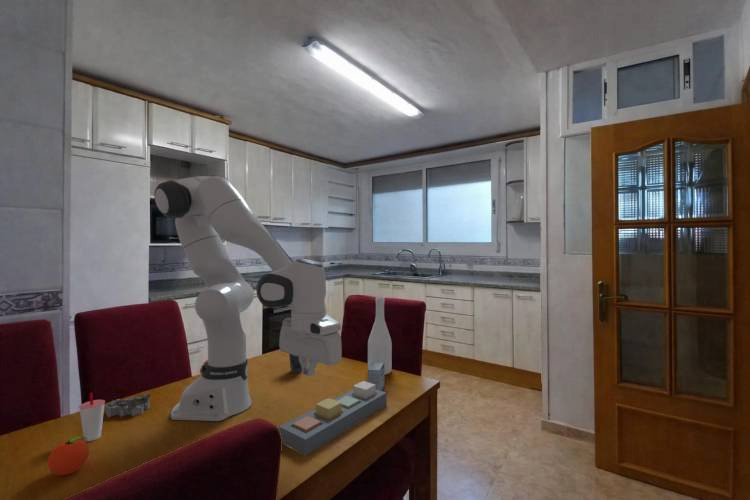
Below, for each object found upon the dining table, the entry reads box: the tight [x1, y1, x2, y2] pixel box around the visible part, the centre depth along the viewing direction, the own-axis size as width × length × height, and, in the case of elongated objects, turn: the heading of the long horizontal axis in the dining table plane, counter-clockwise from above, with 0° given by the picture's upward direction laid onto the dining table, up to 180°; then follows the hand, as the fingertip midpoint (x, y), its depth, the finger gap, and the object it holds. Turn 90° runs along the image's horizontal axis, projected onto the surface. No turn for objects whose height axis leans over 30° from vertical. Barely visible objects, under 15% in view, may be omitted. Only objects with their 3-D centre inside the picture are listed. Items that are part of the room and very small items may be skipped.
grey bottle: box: [367, 296, 393, 376], centre depth 141 cm, size 10×10×30 cm
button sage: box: [337, 396, 359, 409], centre depth 104 cm, size 5×5×4 cm
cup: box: [78, 392, 106, 442], centre depth 92 cm, size 5×5×12 cm
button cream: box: [352, 380, 376, 399], centre depth 111 cm, size 5×5×4 cm
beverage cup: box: [288, 354, 302, 374], centre depth 141 cm, size 7×7×20 cm
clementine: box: [47, 436, 90, 476], centre depth 79 cm, size 8×7×7 cm
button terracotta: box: [293, 416, 321, 433], centre depth 91 cm, size 5×5×4 cm
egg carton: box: [104, 393, 152, 418], centre depth 107 cm, size 11×8×4 cm
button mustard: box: [315, 397, 341, 420], centre depth 98 cm, size 5×5×4 cm
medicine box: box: [367, 363, 385, 392], centre depth 123 cm, size 8×4×9 cm, turn 168°
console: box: [278, 389, 388, 457], centre depth 101 cm, size 34×10×4 cm, turn 143°
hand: (308, 374), depth 92 cm, fingers closed
